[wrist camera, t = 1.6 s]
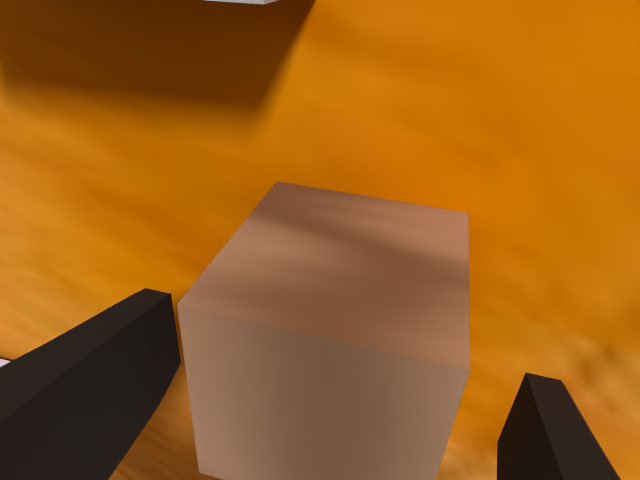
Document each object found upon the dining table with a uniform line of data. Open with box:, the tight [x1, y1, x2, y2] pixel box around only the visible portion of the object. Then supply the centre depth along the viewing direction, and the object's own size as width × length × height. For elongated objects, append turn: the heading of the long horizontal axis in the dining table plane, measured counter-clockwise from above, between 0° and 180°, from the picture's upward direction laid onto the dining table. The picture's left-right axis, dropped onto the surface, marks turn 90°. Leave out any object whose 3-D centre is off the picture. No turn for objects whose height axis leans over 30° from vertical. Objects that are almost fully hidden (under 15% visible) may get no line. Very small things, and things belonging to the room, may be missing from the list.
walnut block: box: [177, 182, 470, 480], centre depth 11 cm, size 5×5×5 cm
